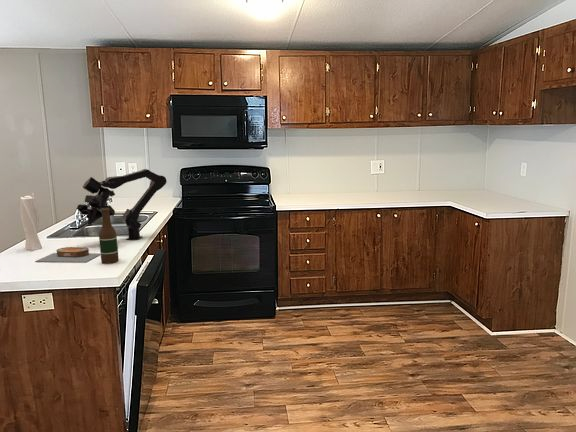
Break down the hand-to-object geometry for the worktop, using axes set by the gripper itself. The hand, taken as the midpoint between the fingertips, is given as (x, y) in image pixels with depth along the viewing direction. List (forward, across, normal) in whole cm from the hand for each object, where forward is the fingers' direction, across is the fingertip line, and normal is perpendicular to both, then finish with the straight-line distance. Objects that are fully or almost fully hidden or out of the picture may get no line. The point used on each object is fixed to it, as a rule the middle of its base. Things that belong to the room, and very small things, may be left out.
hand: (89, 224), depth 231 cm
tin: (+14, 0, +2) cm, 14 cm away
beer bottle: (+22, +24, -4) cm, 33 cm away
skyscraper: (+13, -29, +4) cm, 32 cm away
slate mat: (+21, +2, -3) cm, 21 cm away
